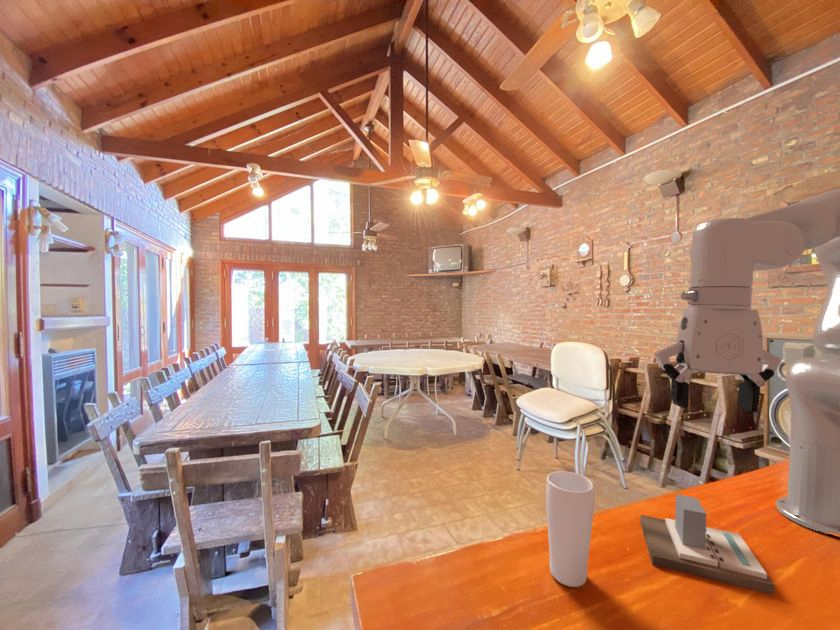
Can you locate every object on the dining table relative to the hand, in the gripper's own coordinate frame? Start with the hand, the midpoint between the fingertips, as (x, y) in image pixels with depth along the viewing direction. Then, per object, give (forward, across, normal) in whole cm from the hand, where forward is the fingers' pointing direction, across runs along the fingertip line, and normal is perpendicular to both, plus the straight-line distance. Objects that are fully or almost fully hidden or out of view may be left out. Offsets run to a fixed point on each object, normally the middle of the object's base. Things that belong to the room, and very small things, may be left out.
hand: (713, 407), depth 57 cm
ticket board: (+26, +1, +3) cm, 26 cm away
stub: (+24, -1, +3) cm, 24 cm away
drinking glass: (+26, -22, -5) cm, 35 cm away
